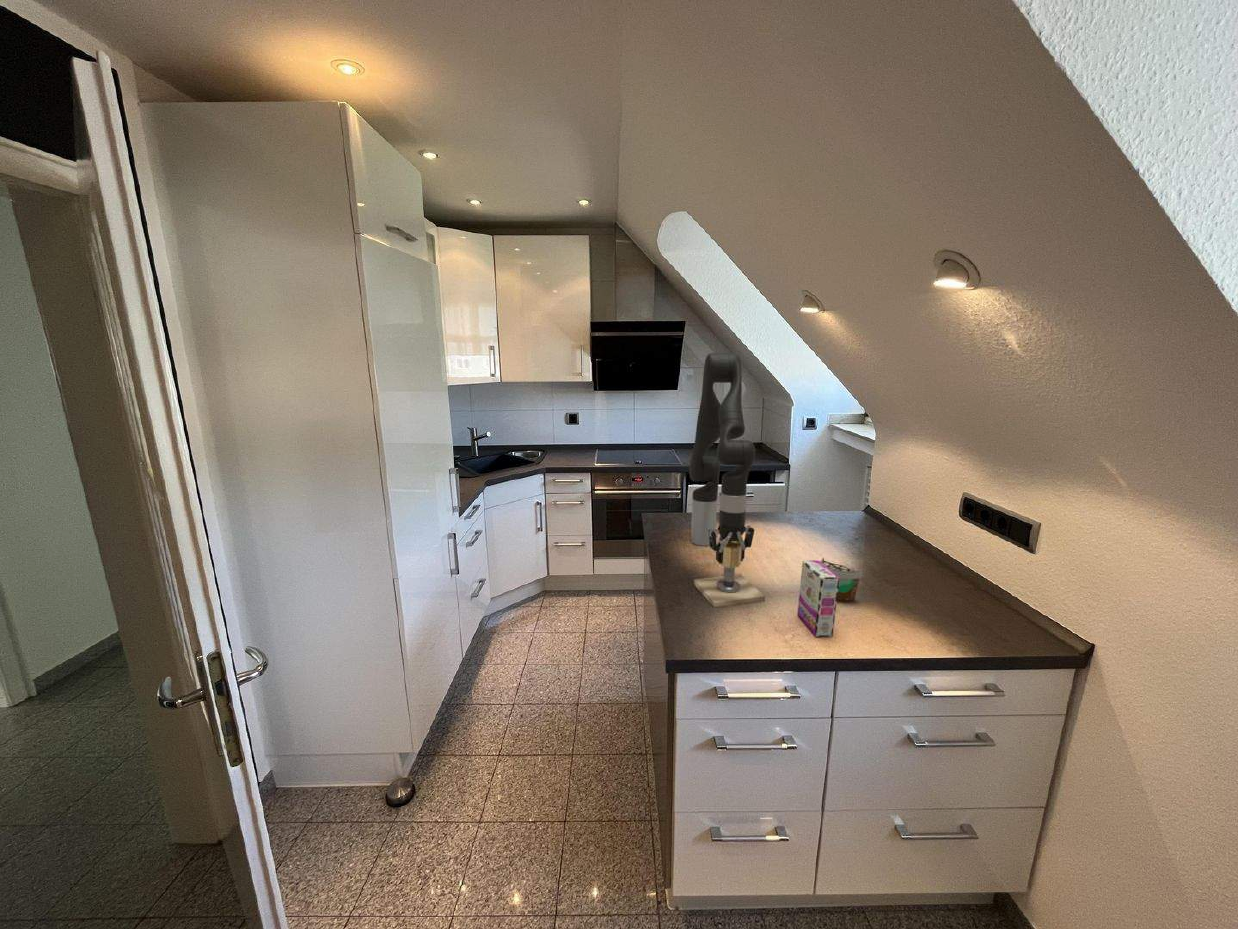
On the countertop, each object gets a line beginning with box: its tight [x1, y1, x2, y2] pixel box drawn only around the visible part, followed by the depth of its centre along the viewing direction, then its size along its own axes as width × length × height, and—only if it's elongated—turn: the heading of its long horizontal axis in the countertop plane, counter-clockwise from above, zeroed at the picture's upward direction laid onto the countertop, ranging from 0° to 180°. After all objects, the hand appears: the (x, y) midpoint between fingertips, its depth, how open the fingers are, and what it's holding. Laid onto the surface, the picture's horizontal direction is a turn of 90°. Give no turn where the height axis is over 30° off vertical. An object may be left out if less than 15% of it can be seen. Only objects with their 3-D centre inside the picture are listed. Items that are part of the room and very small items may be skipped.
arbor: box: [717, 566, 740, 593], centre depth 145 cm, size 7×7×8 cm
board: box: [693, 573, 766, 608], centre depth 146 cm, size 15×16×2 cm
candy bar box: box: [797, 560, 840, 638], centre depth 127 cm, size 11×5×16 cm, turn 4°
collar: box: [720, 541, 742, 569], centre depth 144 cm, size 6×6×6 cm
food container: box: [820, 557, 863, 603], centre depth 142 cm, size 12×6×10 cm, turn 40°
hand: (729, 561), depth 144 cm, fingers closed on collar, 6 cm apart
